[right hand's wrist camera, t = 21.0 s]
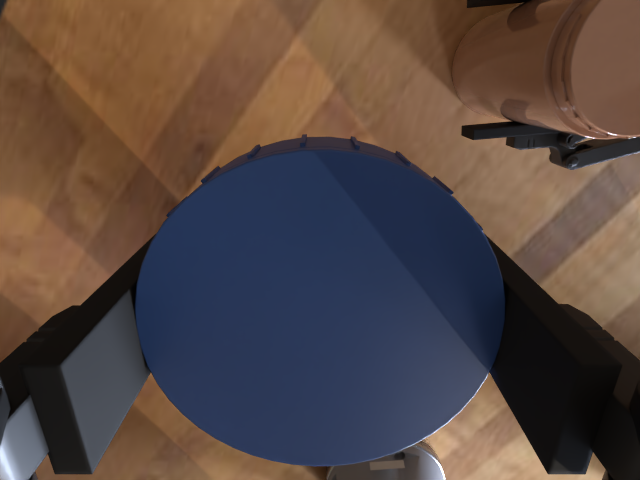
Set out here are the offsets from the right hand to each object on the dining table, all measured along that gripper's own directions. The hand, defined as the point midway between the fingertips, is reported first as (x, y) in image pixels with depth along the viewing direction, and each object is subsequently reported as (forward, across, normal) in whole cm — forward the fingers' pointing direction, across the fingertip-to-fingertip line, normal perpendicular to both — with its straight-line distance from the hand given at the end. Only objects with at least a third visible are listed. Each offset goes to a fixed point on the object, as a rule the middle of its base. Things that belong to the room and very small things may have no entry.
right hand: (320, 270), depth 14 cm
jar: (+26, +16, +7) cm, 31 cm away
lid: (-3, 0, 0) cm, 3 cm away
